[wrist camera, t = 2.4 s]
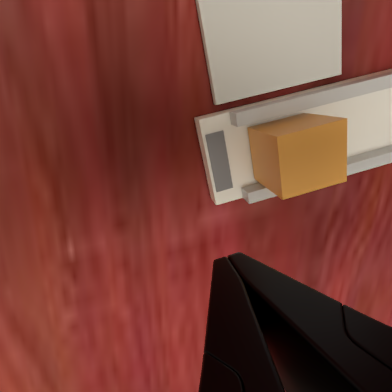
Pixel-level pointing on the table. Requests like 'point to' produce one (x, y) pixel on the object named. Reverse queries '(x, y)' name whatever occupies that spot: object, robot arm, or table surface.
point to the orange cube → (299, 153)
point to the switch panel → (289, 106)
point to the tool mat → (268, 44)
